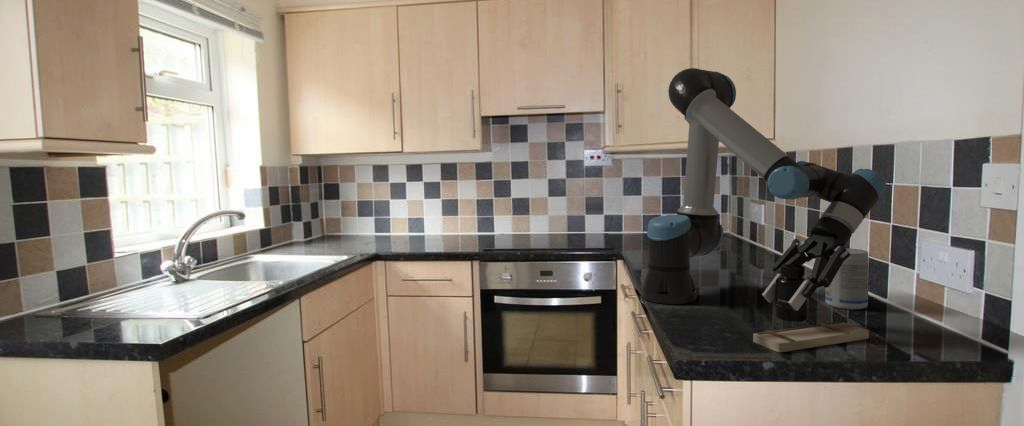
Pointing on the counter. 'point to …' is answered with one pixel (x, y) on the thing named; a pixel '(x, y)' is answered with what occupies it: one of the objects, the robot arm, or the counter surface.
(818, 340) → the birch board
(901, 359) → the counter surface
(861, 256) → the supplement tub
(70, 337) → the counter surface
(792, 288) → the supplement bottle
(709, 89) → the robot arm
